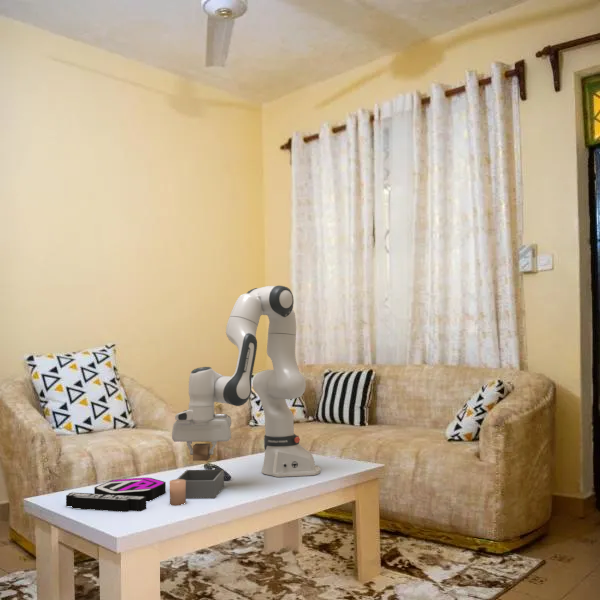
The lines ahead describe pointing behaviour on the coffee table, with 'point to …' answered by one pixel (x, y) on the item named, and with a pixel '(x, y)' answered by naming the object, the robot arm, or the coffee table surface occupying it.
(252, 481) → the coffee table surface
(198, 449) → the walnut cube
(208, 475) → the box
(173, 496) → the terracotta canister
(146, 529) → the coffee table surface
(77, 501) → the sign
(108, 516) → the coffee table surface
